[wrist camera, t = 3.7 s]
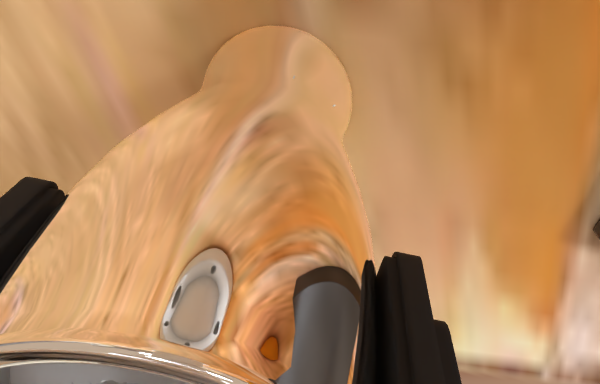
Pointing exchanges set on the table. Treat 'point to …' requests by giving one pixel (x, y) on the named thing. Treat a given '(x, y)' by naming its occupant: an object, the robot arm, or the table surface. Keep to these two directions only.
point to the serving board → (597, 229)
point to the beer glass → (209, 241)
